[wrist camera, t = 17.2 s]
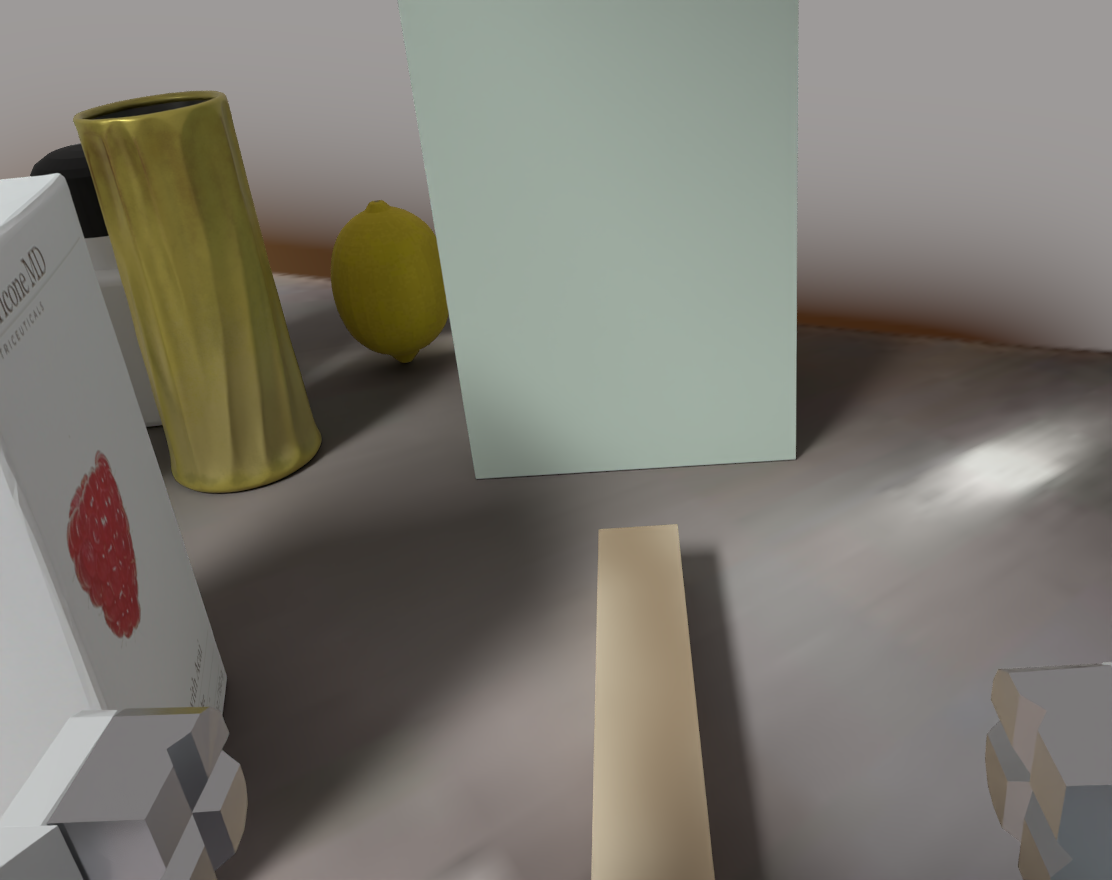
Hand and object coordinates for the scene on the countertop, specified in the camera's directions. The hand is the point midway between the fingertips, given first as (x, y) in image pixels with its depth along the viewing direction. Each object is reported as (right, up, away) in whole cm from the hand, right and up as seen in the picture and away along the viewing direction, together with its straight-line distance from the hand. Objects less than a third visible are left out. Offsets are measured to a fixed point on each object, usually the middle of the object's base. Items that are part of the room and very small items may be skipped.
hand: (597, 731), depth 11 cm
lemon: (-8, +7, +39) cm, 40 cm away
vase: (-13, +2, +32) cm, 34 cm away
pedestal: (+3, +4, +32) cm, 32 cm away
